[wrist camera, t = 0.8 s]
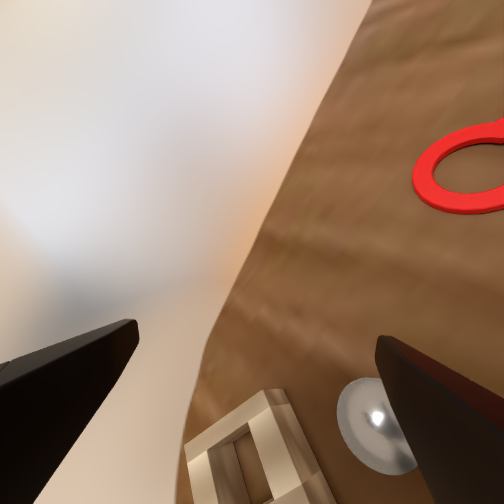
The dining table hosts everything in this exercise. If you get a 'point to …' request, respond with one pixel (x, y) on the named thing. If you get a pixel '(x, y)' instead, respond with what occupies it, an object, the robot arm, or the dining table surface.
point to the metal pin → (373, 428)
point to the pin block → (270, 452)
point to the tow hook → (449, 200)
